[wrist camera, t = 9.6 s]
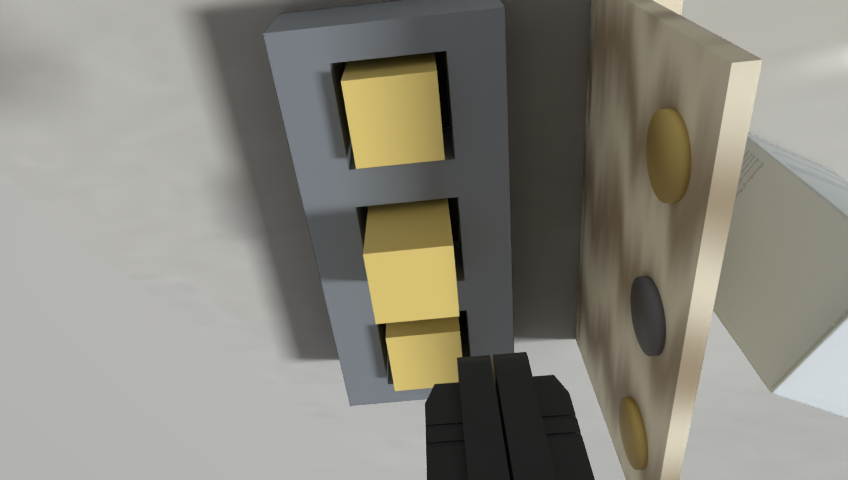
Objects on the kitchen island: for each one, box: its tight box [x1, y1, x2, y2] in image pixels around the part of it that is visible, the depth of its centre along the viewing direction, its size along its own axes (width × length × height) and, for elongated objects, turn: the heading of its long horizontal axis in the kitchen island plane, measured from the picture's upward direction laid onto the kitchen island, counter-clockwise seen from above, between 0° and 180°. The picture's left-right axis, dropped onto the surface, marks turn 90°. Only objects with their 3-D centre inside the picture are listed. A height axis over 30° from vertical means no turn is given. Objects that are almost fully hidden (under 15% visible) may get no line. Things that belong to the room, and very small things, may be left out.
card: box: [576, 0, 762, 480], centre depth 28 cm, size 22×4×14 cm, turn 6°
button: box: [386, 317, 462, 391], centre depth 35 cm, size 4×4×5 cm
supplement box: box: [713, 133, 848, 418], centre depth 29 cm, size 7×7×13 cm
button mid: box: [363, 198, 459, 324], centre depth 30 cm, size 4×4×5 cm
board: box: [263, 0, 514, 406], centre depth 32 cm, size 22×10×4 cm, turn 6°
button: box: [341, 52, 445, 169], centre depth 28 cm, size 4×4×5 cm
